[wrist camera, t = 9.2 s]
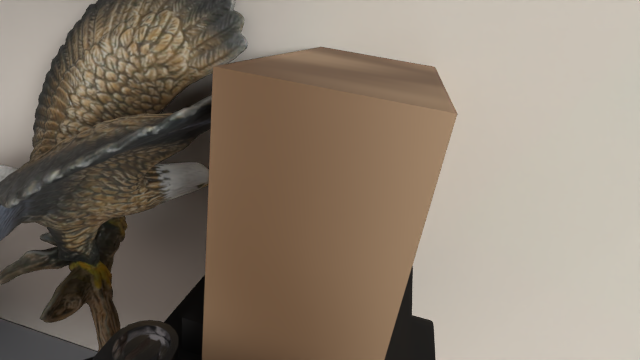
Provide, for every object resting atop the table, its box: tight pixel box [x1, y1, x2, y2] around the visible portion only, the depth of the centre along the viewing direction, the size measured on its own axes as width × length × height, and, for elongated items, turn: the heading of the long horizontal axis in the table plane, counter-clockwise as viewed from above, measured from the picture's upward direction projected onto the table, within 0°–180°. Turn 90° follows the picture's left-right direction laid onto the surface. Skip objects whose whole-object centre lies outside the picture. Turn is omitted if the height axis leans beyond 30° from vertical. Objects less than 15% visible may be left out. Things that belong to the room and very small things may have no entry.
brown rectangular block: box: [202, 47, 457, 360], centre depth 10 cm, size 3×12×6 cm, turn 171°
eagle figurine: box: [0, 0, 247, 352], centre depth 10 cm, size 8×7×9 cm
